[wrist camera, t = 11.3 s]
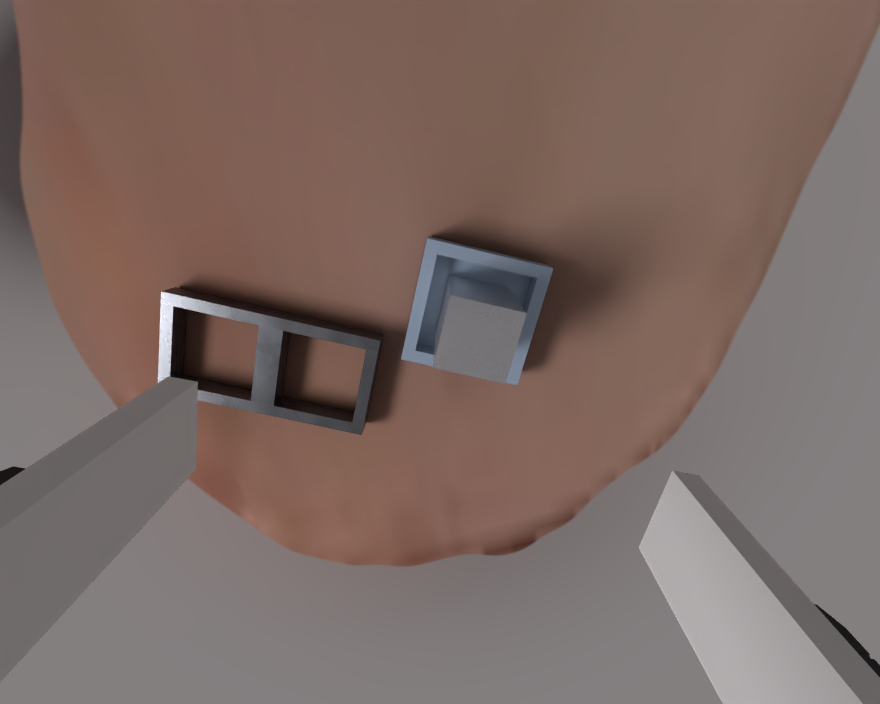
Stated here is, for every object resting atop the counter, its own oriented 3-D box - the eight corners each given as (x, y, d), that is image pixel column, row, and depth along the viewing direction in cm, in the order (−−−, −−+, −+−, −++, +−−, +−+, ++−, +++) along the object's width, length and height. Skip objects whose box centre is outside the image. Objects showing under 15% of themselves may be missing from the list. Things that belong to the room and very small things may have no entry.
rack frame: (175, 287, 38) (161, 291, 36) (383, 334, 39) (380, 340, 37) (171, 382, 41) (157, 391, 39) (365, 424, 42) (361, 434, 40)
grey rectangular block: (449, 273, 37) (450, 295, 28) (508, 287, 37) (526, 313, 28) (435, 331, 38) (432, 367, 30) (492, 344, 39) (505, 383, 30)
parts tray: (428, 236, 36) (427, 238, 34) (546, 264, 37) (553, 268, 35) (403, 349, 39) (401, 359, 37) (513, 374, 40) (517, 385, 38)
